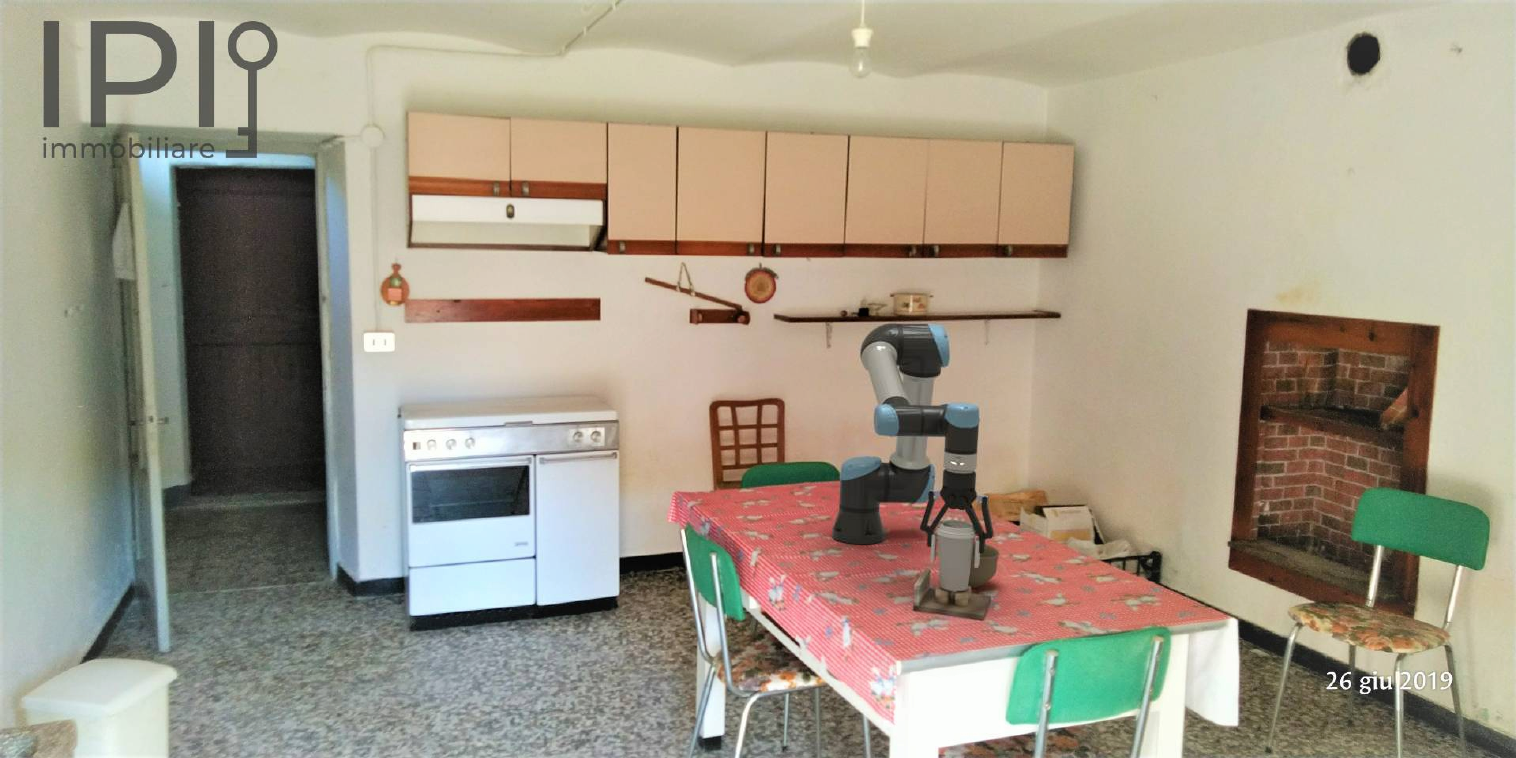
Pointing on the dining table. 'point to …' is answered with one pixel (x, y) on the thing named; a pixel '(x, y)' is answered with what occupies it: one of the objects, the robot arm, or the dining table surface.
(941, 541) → the coffee cup
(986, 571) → the bowl
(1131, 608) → the dining table surface
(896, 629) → the dining table surface
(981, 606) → the peg stand
